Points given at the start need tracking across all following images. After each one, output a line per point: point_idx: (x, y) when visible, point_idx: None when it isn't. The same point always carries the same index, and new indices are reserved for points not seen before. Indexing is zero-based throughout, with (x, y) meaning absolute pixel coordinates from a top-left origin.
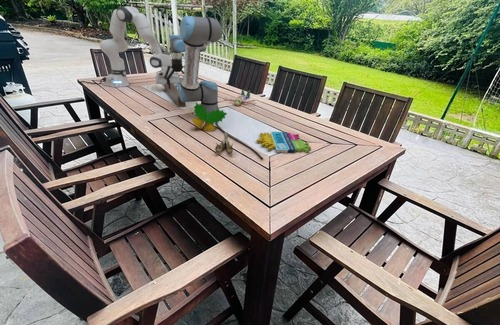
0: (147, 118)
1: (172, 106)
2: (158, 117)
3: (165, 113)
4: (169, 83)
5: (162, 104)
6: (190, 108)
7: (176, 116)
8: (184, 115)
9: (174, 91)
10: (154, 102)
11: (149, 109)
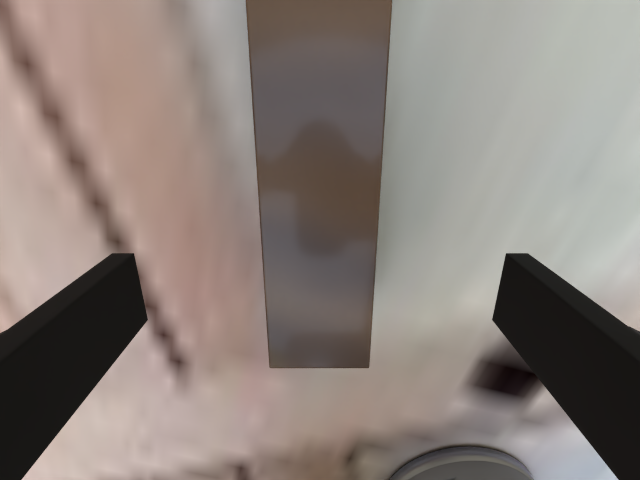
0: None
1: (227, 264)
2: (98, 465)
3: (149, 412)
4: (61, 409)
5: (126, 168)
6: (377, 357)
7: (223, 477)
8: (282, 474)
9: (283, 34)
10: (23, 54)
11: (5, 293)
